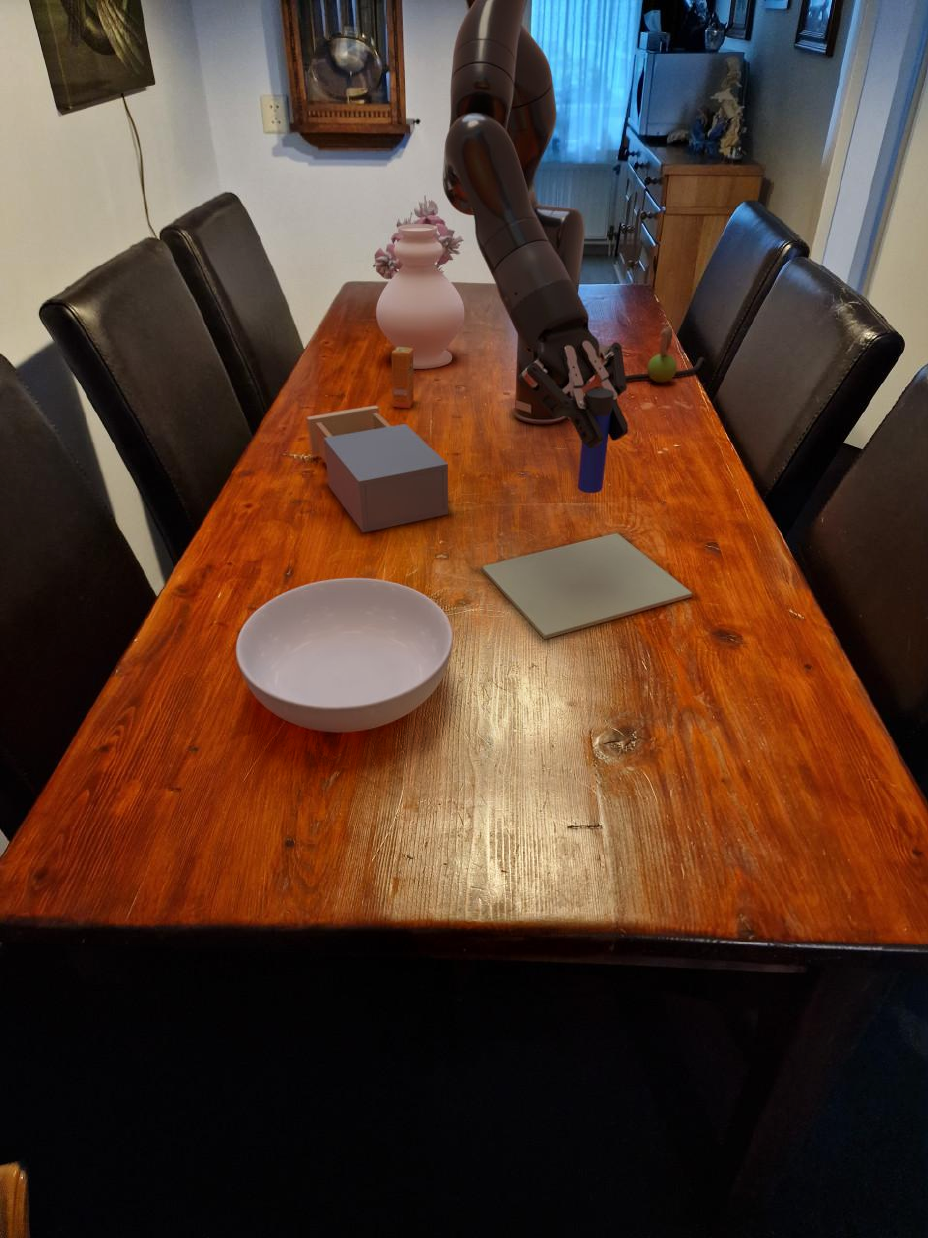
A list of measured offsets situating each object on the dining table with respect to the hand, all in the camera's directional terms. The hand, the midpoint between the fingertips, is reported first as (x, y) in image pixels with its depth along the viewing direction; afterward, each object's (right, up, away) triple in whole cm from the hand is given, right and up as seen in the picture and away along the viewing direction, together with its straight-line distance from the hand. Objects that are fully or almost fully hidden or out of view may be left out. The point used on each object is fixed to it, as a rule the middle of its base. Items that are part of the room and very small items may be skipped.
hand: (608, 440), depth 87 cm
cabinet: (-27, -2, +30) cm, 40 cm away
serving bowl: (-27, -26, -4) cm, 38 cm away
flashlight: (-1, -4, +5) cm, 7 cm away
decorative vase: (-24, +35, +83) cm, 93 cm away
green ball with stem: (+22, +26, +70) cm, 78 cm away
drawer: (-32, +6, +40) cm, 52 cm away
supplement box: (-26, +20, +61) cm, 69 cm away
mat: (-1, -15, +12) cm, 19 cm away
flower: (-27, +54, +110) cm, 126 cm away
